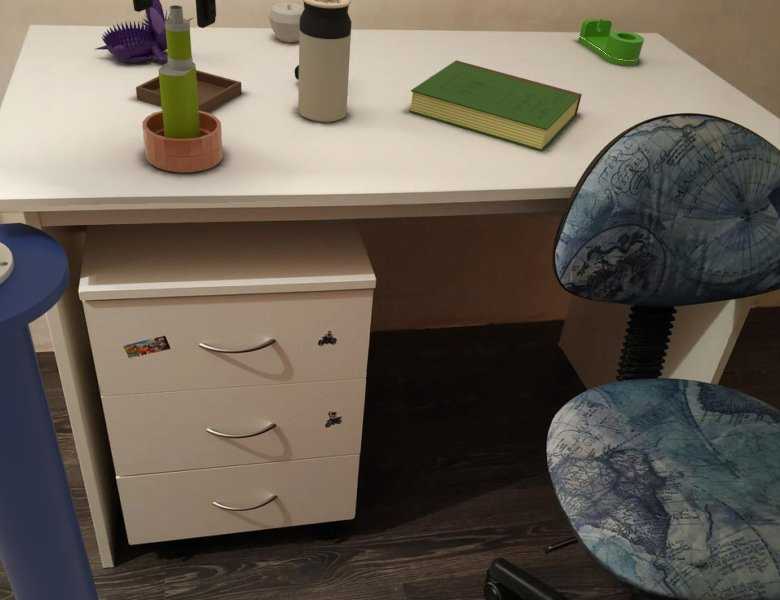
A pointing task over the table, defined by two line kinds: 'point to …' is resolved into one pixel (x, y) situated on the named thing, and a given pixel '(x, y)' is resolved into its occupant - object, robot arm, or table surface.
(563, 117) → the hardcover book
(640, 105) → the table surface
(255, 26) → the table surface
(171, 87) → the vape
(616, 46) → the green stand
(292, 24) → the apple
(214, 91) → the tray
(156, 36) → the creature
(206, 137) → the bowl
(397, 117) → the table surface
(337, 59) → the travel mug
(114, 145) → the table surface
